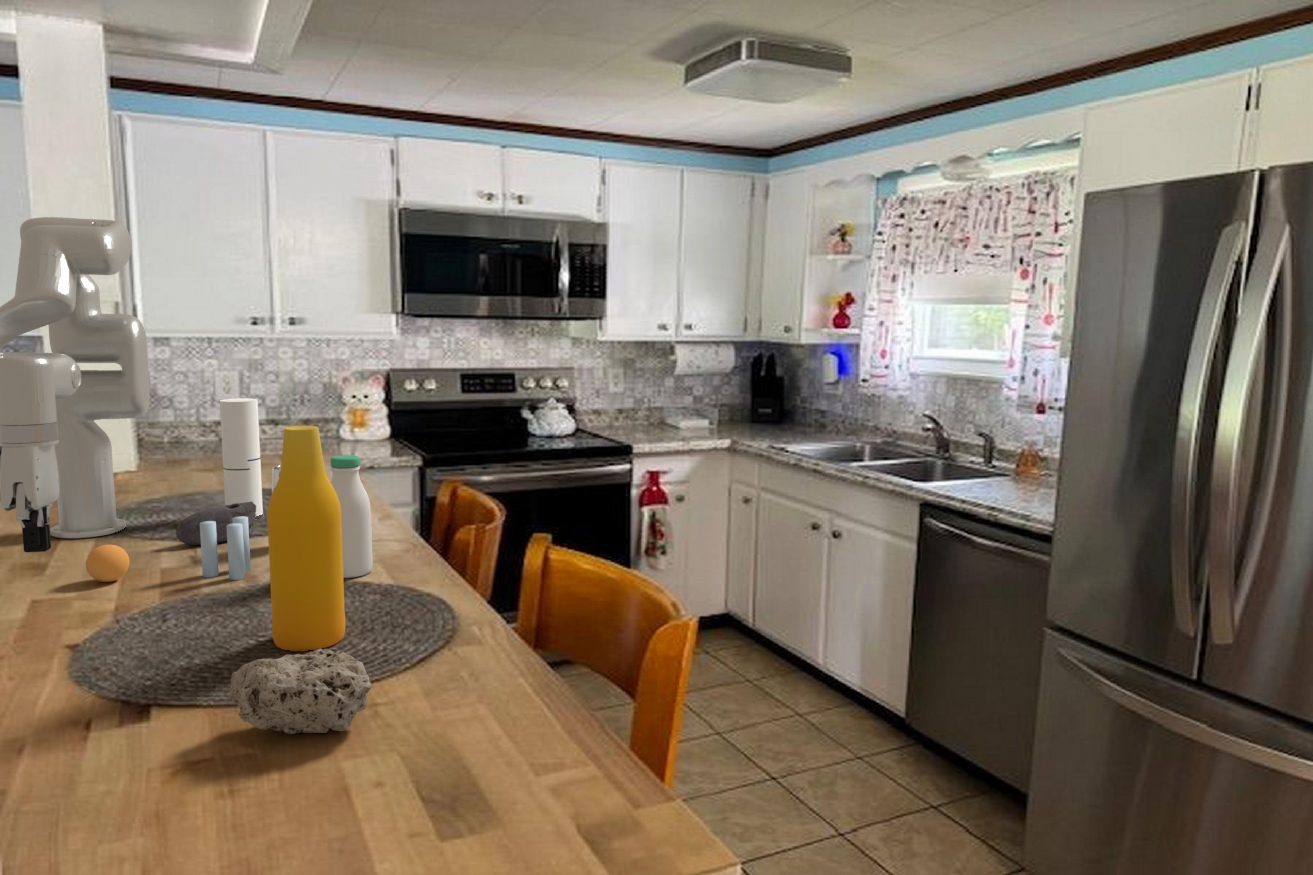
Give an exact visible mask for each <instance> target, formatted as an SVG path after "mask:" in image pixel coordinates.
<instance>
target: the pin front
mask: <svg viewBox="0 0 1313 875" xmlns="http://www.w3.org/2000/svg"><path fill="white" fill-rule="evenodd" d="M200 539H201V545H200V556H201V567H202V570H201V571H202V577H203V578H205V577H206V578H209V577H210V578H215V577H218V576H219V574H220V573H219V555H218V553H219V552H218V543H217V533H216V522H215V521H205V522H201V523H200Z"/></svg>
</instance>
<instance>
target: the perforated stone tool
mask: <svg viewBox="0 0 1313 875" xmlns="http://www.w3.org/2000/svg"><path fill="white" fill-rule="evenodd" d="M255 513H256V505H255V504H253V502H245V503H236V504H232V505H225V504H224V505H220V506H215V507H211V508H207V509H204V510H201V511H199V512H196V513H194V514H193V513H192V514H191V515H189V516H187V517H185V518H184V519H183V520H181V521H179V523H178V524H177V526H176V528H175V536H176V538H177V539H178V540H179V542H181V543H183V544H186V545H191V546H201V539H200V523H201V522H205V521H215V522H216V533H217V544H220V543H227V527H226V525H228V524H233V520H232V518H234V517H240V516H245V517H248V526H249V537H251V536H253V533H254V529H255V522H256V521H255V520H256V519H255V516H256V514H255Z"/></svg>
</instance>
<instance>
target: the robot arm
mask: <svg viewBox="0 0 1313 875" xmlns="http://www.w3.org/2000/svg"><path fill="white" fill-rule="evenodd" d="M19 234H20V235H19V236H20V240H21V241H20V247H19V248H20V250H19V256H18V257H19V258H18V266H17V274H16V282H15V291H14V292H15V293H14V296H13V297H12V298H11V299H10V300H9V301H7V302H5V303H4V304H2V305H1V306H0V447H1V453H0V454H1V455H0V507H1V509H2V510H4V511H6V512H10V511H13V510H14V509H15V520H18V521H20V527H21V531H22V544H23V552H24V553H42V552H47V551H48V550H50V549H51V548H52V542H51V541H52V540H51V539H52V538H51V536H52V537H54V538H60V539H86V538H94V537H101V536H108V535H111V534H115V532H116V533H118V531H119V532H121V531H123V530H124V528H125V527H127V521H126V520H124V519H121V518H117V508H116V507H117V506H116V495H115V494H116V493H115V481H114V480H115V478H114V477H115V476H114V465H113V453H112V452H113V449H112V441H111V439H110V437H109V435H108V434H107V433H106V432H105V431H104V430H103V429H102V428H101V427H100V426H99V425H98V424H97V422H95V421H96V420H97V421H99V420H119V419H121V420H123V419H138V418H141V417H143V416H145V415H146V414H147V412H148V411H149V409H150V402H151V395H150V392H151V391H150V390H151V388H150V377H149V358H148V357H149V356H148V353H149V352H148V341H147V334H146V330H145V327H144V325H143V322H142V321H141V320H140V319H139V318H138V317H137V316H134V315H131V314H126V313H103V312H102V311H101V310H102V309H101V298H100V297H101V296H100V295H101V294H100V288H99V286H98V284H97V283H96V281H95V280H94V279H93V277H91V276H111V275H112V276H113V275H115V274H117V273H119V271H120V270H122V269H123V268H124V266H126V264H127V263H128V262H129V260H130V257H131V254H132V239H131V235H130V233H129V230H128V229H127V227H126V226H125V225H124V224H123V223H122V222H120V221H118V220H109V219H92V218H78V217H77V218H76V217H62V216H61V217H57V216H56V217H55V216H48V217H47V216H44V217H33V218H30V219H26V220H24V221H23V222H22V223H21V225H20V228H19ZM90 275H91V276H90ZM46 326H48V336H49V337H48V338H49V346H50V350H51V352H2V351H3V349H5V347H6V345H8V343H10V342H12V341H13V340H14V339H16V338H17V337H19V336H22V335H24V334H26V333H28V332H31V331H35V330H37V329H39V328H43V327H46ZM78 364H117V365H119V366H120V367H121V369H112V370H111V369H109V370H108V369H107V370H106V369H103V370H102V369H101V370H100V369H81V368H80V366H79V365H78ZM55 501H57V511H58V513H57V514H58V524H56V525H54V526H52V527H51V526H50V523H51V508H52V507H53V503H55ZM122 529H123V530H122ZM125 529H126V528H125ZM120 530H121V531H120Z"/></svg>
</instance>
